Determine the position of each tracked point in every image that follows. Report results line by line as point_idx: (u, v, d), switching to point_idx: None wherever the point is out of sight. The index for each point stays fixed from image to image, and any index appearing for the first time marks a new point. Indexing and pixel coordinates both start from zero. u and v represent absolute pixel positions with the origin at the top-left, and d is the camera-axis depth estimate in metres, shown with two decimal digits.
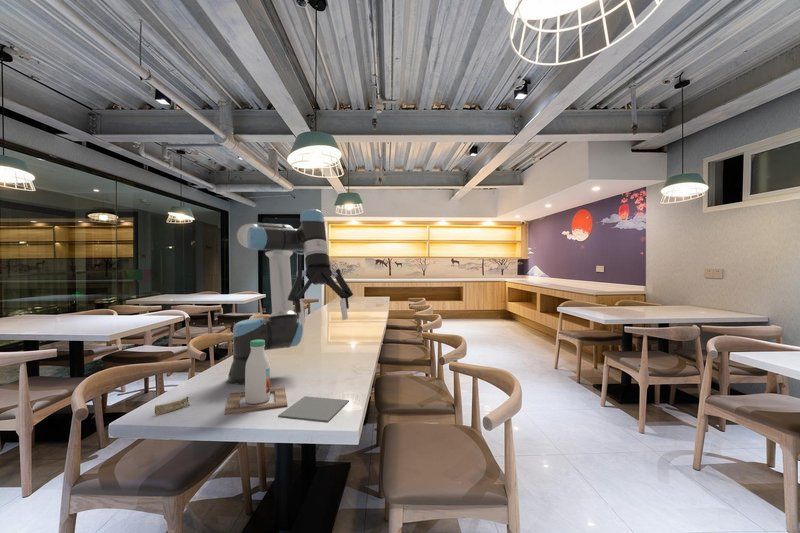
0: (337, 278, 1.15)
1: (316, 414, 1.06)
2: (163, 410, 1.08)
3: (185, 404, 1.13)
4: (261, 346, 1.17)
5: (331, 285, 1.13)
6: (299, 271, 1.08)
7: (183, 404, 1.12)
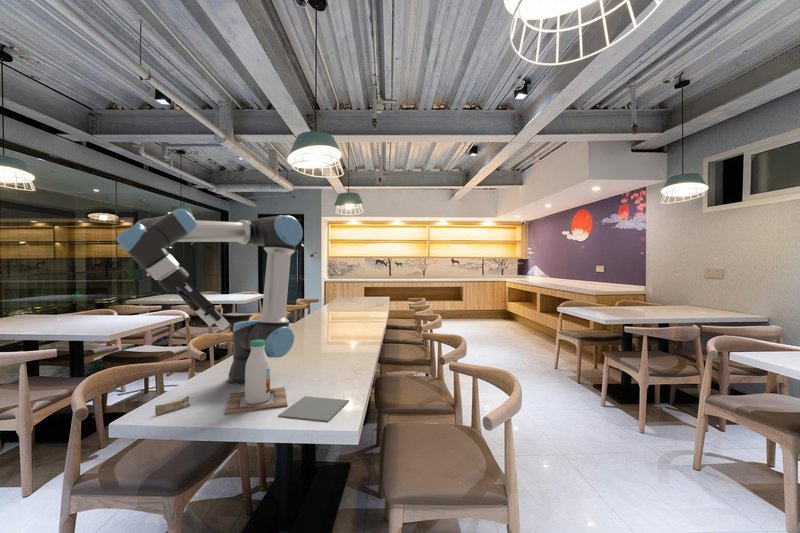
0: None
1: (316, 414, 1.06)
2: (163, 410, 1.08)
3: (186, 404, 1.13)
4: (261, 346, 1.17)
5: None
6: None
7: (184, 404, 1.12)
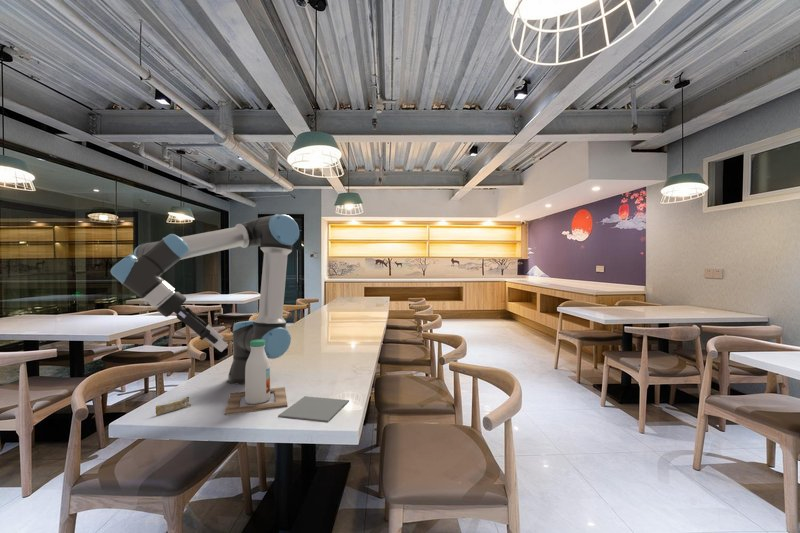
0: None
1: (316, 414, 1.06)
2: (164, 410, 1.08)
3: (186, 404, 1.13)
4: (261, 346, 1.17)
5: None
6: None
7: (184, 404, 1.12)
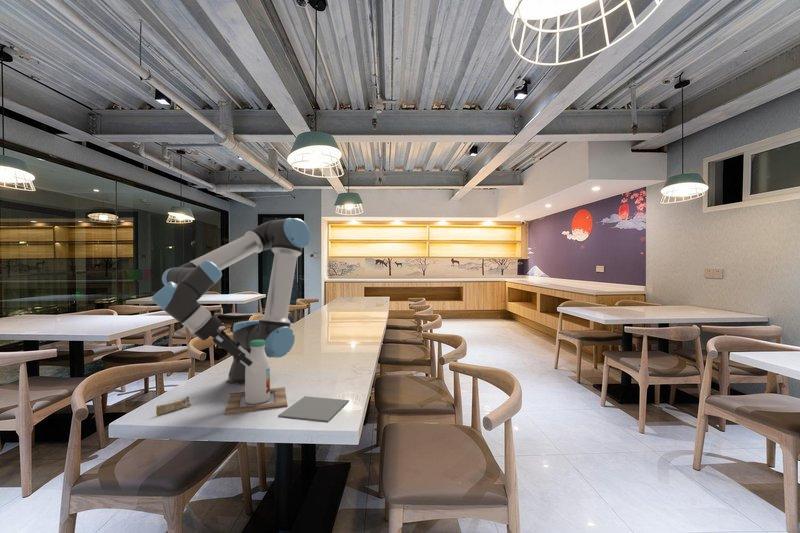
0: None
1: (316, 414, 1.06)
2: (164, 410, 1.08)
3: (186, 404, 1.13)
4: (261, 346, 1.17)
5: None
6: None
7: (184, 404, 1.12)
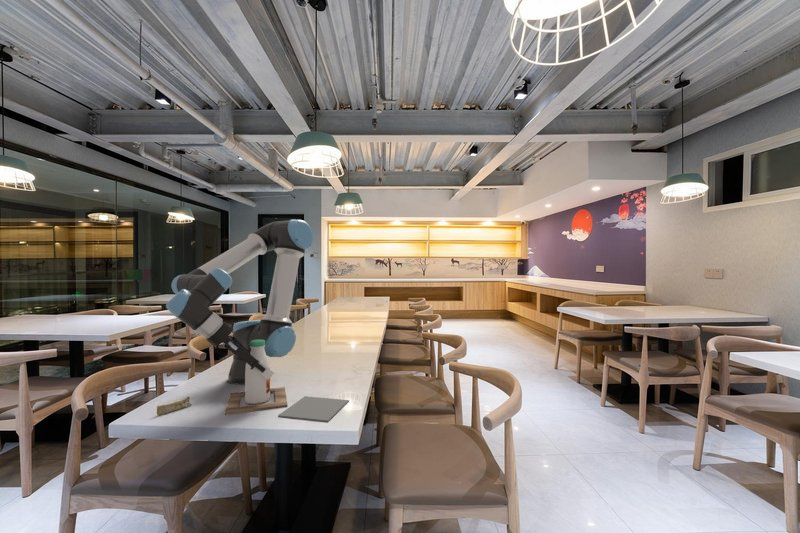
0: None
1: (316, 414, 1.06)
2: (165, 410, 1.08)
3: (187, 404, 1.13)
4: (261, 346, 1.17)
5: None
6: None
7: (185, 404, 1.12)
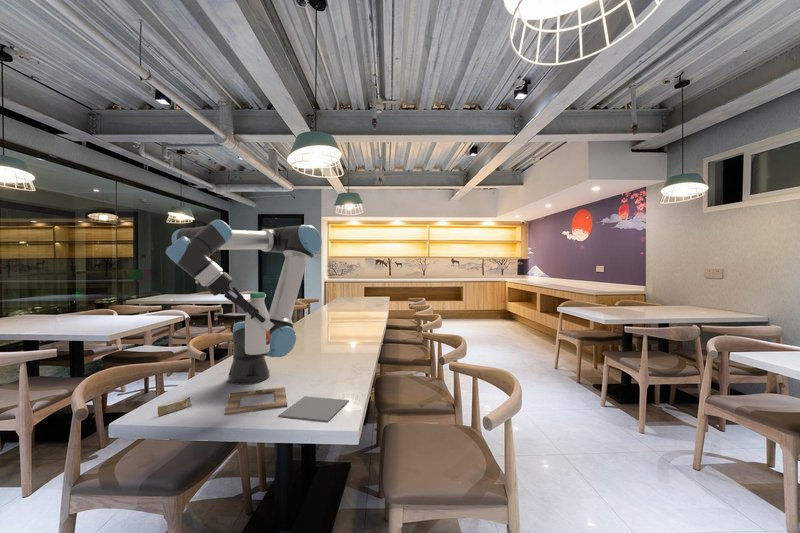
0: None
1: (316, 414, 1.06)
2: (166, 411, 1.08)
3: (187, 404, 1.13)
4: (261, 298, 1.17)
5: None
6: None
7: (185, 404, 1.12)
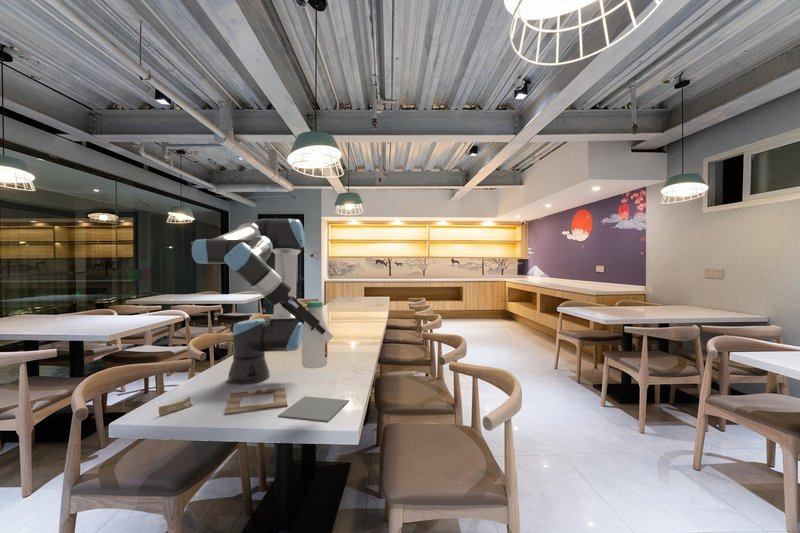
0: None
1: (316, 414, 1.06)
2: (167, 411, 1.07)
3: (188, 404, 1.13)
4: (319, 307, 1.09)
5: None
6: (280, 304, 1.11)
7: (186, 404, 1.12)
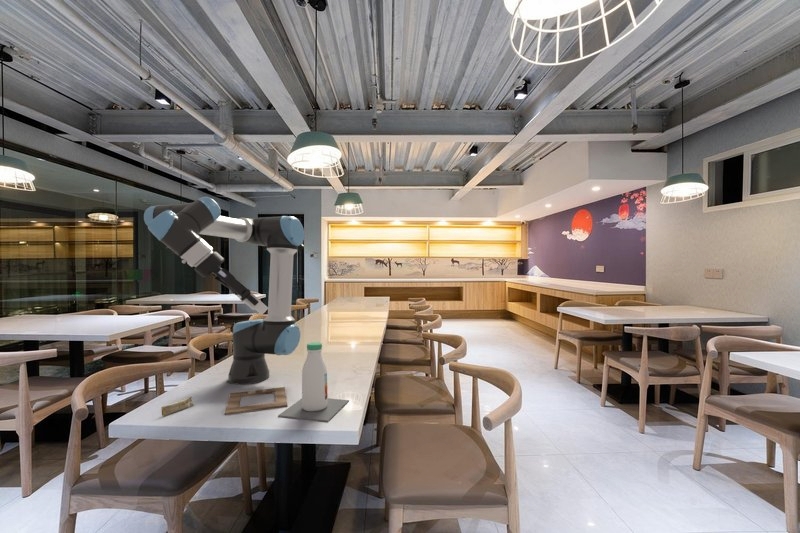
0: None
1: (316, 414, 1.06)
2: (169, 411, 1.07)
3: (189, 404, 1.13)
4: (319, 349, 1.10)
5: None
6: (214, 275, 1.07)
7: (188, 404, 1.12)
